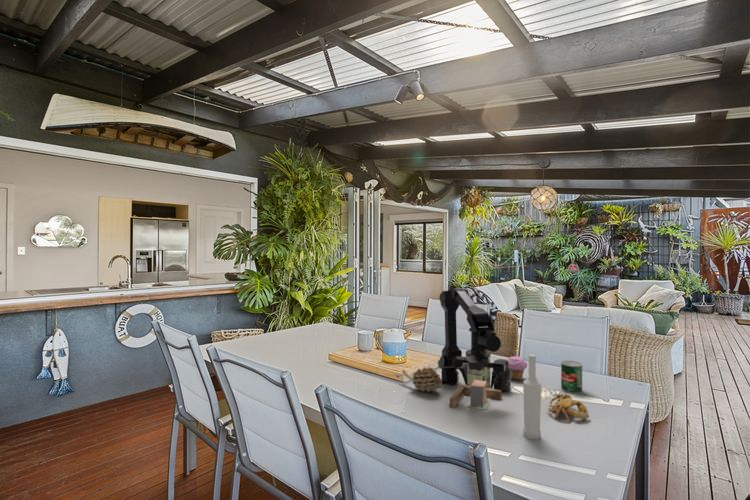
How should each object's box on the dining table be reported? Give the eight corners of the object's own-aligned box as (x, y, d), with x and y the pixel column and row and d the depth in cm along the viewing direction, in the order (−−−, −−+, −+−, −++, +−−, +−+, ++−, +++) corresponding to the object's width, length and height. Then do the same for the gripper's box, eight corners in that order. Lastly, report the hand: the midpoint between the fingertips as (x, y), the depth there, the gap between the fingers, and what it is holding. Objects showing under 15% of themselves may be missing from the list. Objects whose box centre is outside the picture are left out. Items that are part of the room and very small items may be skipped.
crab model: (589, 427, 134) (589, 410, 133) (547, 419, 139) (547, 403, 139) (589, 410, 147) (589, 395, 147) (550, 403, 153) (551, 389, 153)
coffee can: (466, 380, 180) (467, 348, 180) (491, 382, 176) (491, 350, 176) (464, 387, 170) (464, 354, 170) (489, 390, 167) (489, 356, 167)
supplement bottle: (511, 393, 164) (511, 363, 164) (494, 391, 166) (494, 362, 165) (509, 387, 171) (509, 358, 171) (492, 386, 172) (492, 357, 172)
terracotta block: (474, 397, 158) (474, 379, 158) (486, 399, 156) (486, 381, 156) (470, 405, 151) (470, 386, 151) (482, 407, 149) (482, 387, 149)
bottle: (520, 432, 129) (520, 353, 129) (536, 431, 130) (536, 353, 130) (527, 440, 124) (527, 357, 124) (544, 439, 125) (544, 357, 124)
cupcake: (505, 380, 180) (505, 357, 180) (506, 374, 188) (506, 353, 188) (526, 382, 176) (526, 359, 176) (527, 377, 184) (527, 354, 184)
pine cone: (448, 393, 164) (448, 368, 164) (433, 399, 157) (433, 373, 157) (407, 380, 180) (407, 357, 180) (392, 385, 173) (392, 362, 173)
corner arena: (449, 406, 150) (449, 398, 150) (460, 391, 165) (460, 384, 165) (494, 414, 143) (494, 405, 143) (501, 397, 159) (501, 390, 159)
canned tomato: (582, 388, 169) (582, 362, 169) (582, 394, 162) (582, 367, 162) (561, 385, 173) (561, 359, 173) (560, 391, 165) (561, 364, 165)
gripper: (449, 347, 150) (449, 390, 150) (501, 353, 142) (501, 397, 142) (456, 341, 160) (456, 381, 160) (505, 346, 152) (505, 387, 152)
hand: (478, 386), depth 153 cm, fingers open, 9 cm apart
